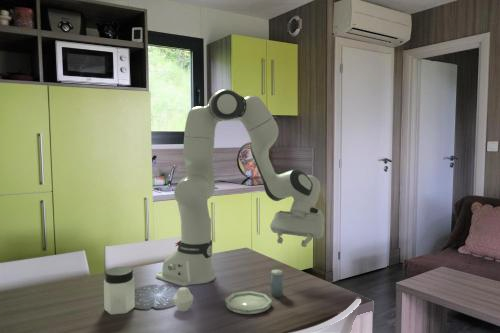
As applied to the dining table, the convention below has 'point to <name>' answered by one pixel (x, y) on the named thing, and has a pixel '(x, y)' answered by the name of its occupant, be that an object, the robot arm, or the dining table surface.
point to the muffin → (183, 299)
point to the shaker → (277, 283)
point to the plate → (248, 302)
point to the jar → (119, 290)
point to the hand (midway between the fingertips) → (291, 244)
